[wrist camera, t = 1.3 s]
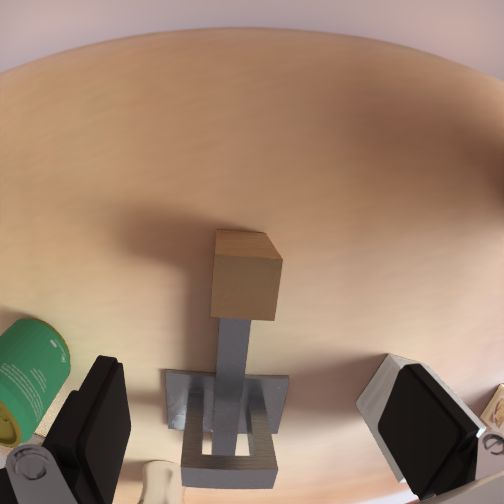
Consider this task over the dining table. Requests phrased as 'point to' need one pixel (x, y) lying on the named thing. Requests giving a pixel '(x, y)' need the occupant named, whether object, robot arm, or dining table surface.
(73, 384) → the dining table surface
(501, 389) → the coffeecake box
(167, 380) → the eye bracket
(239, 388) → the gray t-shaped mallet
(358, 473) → the dining table surface
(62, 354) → the beverage can
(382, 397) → the supplement box
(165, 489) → the beer glass
